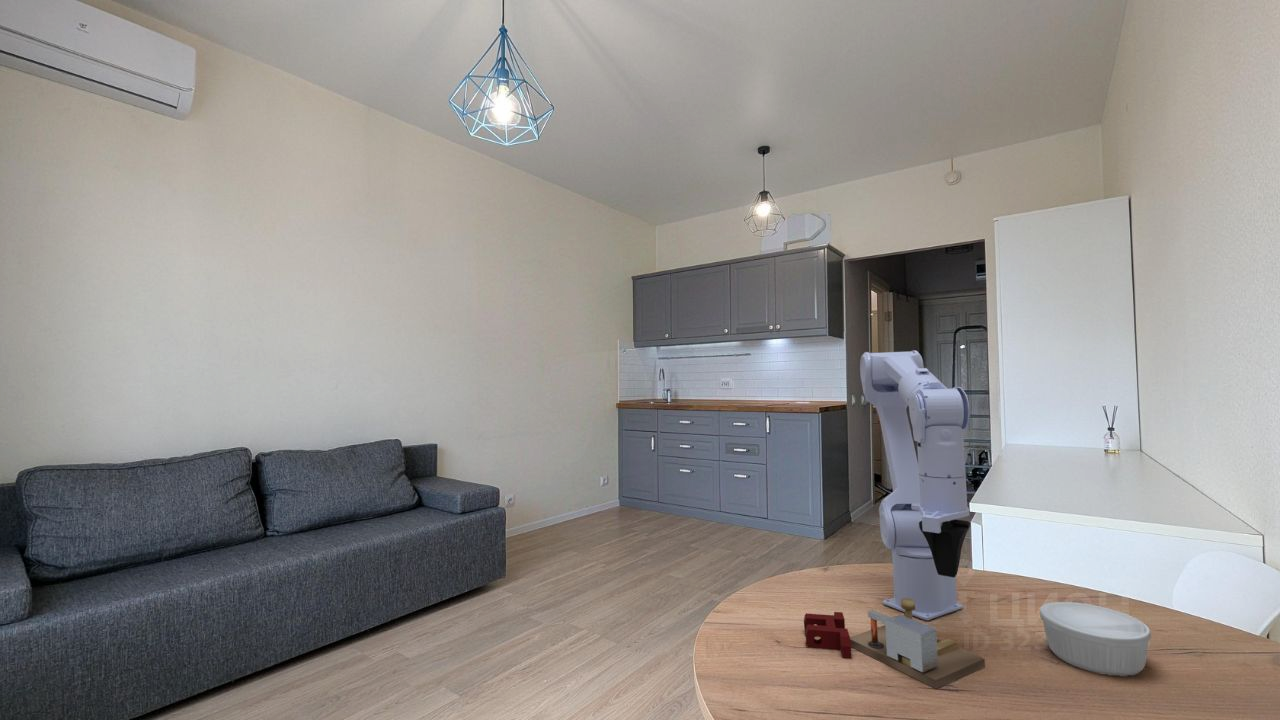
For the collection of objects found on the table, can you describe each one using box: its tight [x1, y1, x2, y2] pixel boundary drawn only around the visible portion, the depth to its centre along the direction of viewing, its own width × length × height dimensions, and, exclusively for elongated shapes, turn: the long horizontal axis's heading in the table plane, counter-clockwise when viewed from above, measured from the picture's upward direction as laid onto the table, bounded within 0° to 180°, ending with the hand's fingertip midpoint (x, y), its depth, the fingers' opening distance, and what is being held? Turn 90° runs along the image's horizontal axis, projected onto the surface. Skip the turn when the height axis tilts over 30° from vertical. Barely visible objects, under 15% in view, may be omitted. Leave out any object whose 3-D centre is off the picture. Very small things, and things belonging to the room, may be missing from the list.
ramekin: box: [1039, 601, 1152, 677], centre depth 71 cm, size 11×11×5 cm
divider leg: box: [867, 609, 938, 672], centre depth 71 cm, size 8×3×4 cm, turn 28°
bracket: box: [803, 611, 852, 660], centre depth 78 cm, size 3×6×10 cm
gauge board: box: [850, 598, 986, 690], centre depth 73 cm, size 13×10×6 cm
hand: (947, 574), depth 75 cm, fingers closed
